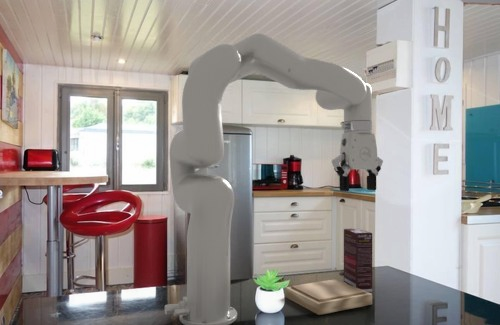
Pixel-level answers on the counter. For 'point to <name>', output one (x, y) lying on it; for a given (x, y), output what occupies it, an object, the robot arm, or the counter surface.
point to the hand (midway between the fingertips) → (358, 190)
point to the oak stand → (328, 296)
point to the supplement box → (358, 259)
